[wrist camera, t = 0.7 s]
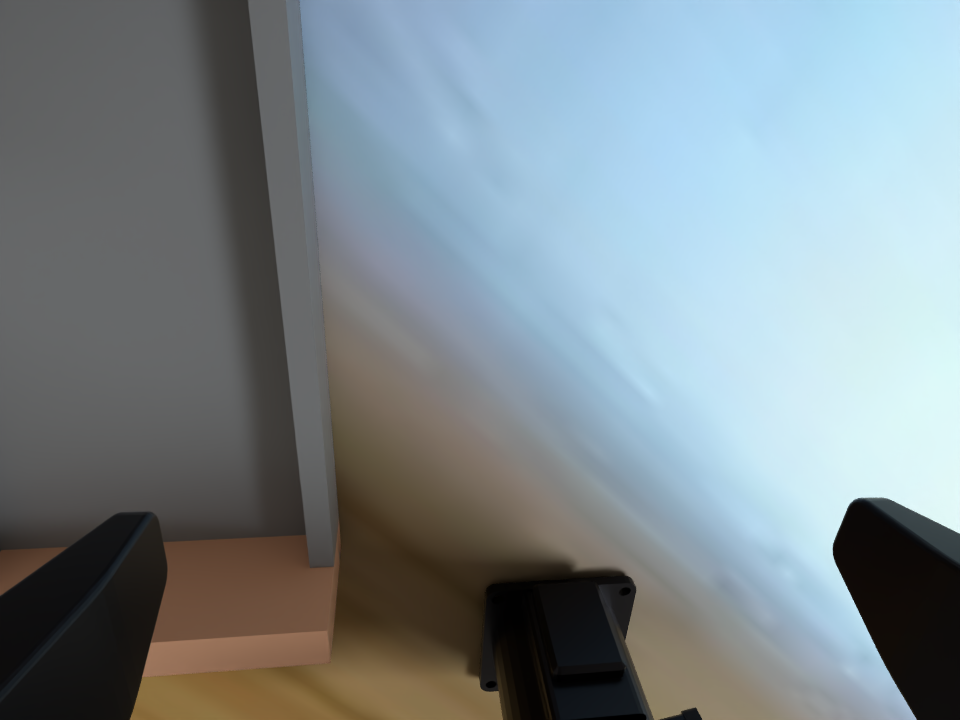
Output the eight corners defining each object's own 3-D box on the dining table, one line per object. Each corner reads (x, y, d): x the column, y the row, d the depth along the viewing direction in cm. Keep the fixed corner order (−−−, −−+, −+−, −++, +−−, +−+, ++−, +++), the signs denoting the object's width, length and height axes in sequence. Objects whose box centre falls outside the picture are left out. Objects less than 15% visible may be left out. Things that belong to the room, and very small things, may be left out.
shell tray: (341, 548, 25) (330, 663, 21) (1, 566, 23) (-88, 694, 19) (293, -77, 15) (254, -110, 11) (-281, -115, 14) (-588, -170, 10)
